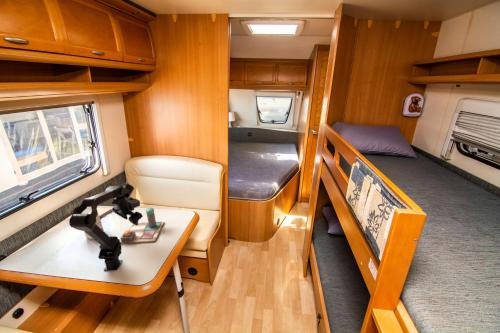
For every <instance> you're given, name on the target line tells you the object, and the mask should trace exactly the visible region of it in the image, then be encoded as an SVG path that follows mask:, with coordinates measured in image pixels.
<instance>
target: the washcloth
mask: <svg viewBox="0 0 500 333" xmlns="http://www.w3.org/2000/svg"><path fill="white" fill-rule="evenodd" d="M91 212H92V210H91V211H90V212H87V213H86V214H91ZM97 212H98V214H99V217H100V219H101V218H103V217H105V216H107V215H108V214H110V213H112V212H113V211H112V208H106V207H97Z"/></svg>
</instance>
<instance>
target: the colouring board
mask: <svg viewBox="0 0 500 333" xmlns="http://www.w3.org/2000/svg"><path fill="white" fill-rule="evenodd" d="M164 225H165V221H156V227H155V228H149V223H148V222H138V225H137V226H136V225H135V224H133V223H132V225H131V226H130V228H129V229H128V230H130V233H131V236H130V237H125V234H124V233H123V234H122V235H121V237H120V239H119V240H120V242H121V245H131V244H145V243H147V244H148V243H156V242H157V239H158V237H159V236H160V233H161V232H162V229H163V227H164Z"/></svg>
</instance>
